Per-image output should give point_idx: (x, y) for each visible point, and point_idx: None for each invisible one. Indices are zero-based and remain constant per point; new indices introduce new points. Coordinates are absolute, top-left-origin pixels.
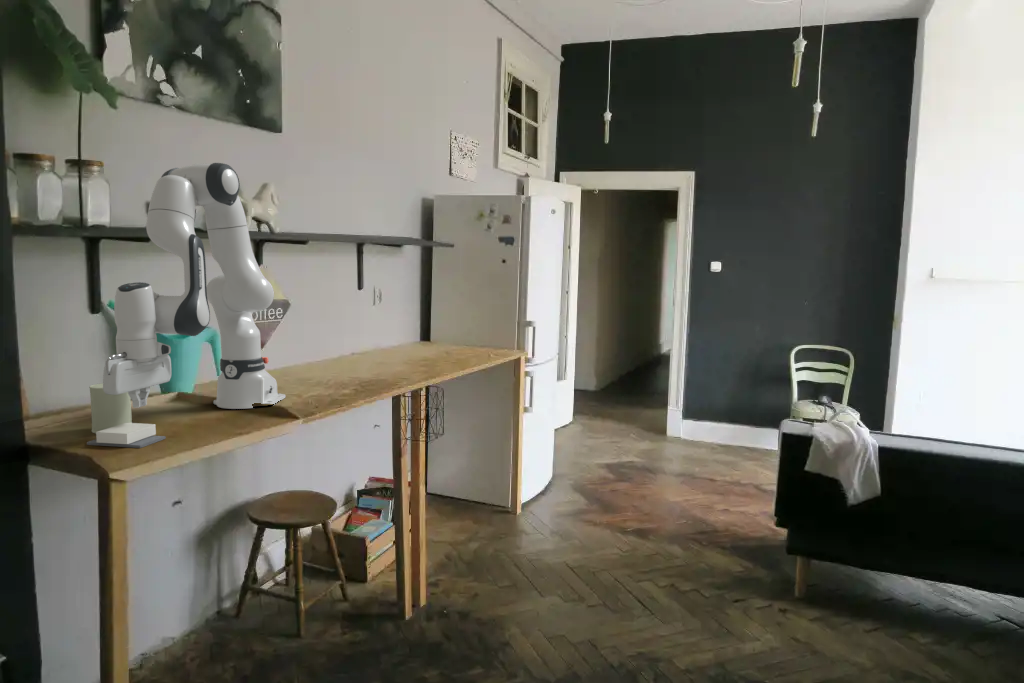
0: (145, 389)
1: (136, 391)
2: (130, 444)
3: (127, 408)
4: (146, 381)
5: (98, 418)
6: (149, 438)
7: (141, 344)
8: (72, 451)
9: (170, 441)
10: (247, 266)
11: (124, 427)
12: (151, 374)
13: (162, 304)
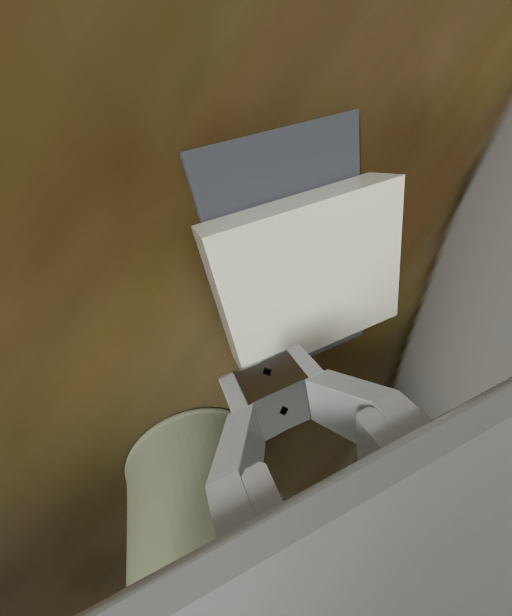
0: (274, 487)
1: (411, 416)
2: (354, 171)
3: (181, 502)
4: (379, 570)
5: None
6: (251, 190)
7: None
8: (419, 290)
9: (203, 67)
10: None
11: (315, 301)
12: None
13: None
